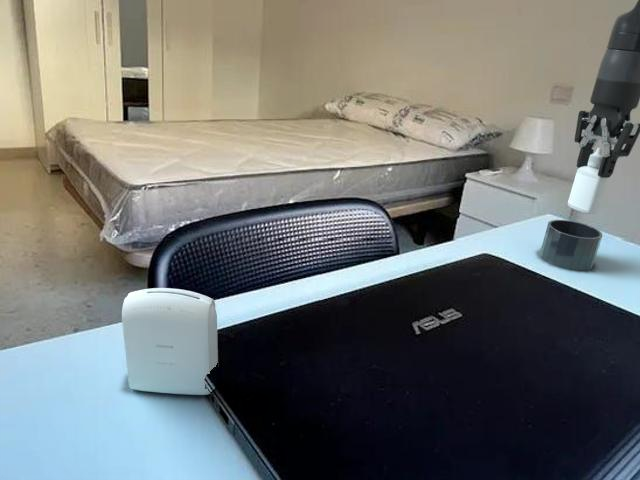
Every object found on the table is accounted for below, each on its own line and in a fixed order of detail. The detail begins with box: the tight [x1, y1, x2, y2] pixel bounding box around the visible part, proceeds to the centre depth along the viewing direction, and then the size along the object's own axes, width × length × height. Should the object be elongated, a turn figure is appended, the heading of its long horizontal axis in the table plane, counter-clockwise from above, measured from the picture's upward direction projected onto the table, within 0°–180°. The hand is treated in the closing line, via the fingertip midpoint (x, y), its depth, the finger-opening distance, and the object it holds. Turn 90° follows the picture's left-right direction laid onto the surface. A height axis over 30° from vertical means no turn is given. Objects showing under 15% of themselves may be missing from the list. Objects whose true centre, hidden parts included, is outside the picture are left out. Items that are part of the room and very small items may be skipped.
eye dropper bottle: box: [567, 147, 608, 215], centre depth 94 cm, size 4×6×12 cm
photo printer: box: [121, 287, 219, 396], centre depth 56 cm, size 10×4×12 cm, turn 88°
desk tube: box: [539, 219, 603, 272], centre depth 99 cm, size 10×10×7 cm
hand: (592, 172), depth 94 cm, fingers closed on eye dropper bottle, 5 cm apart
